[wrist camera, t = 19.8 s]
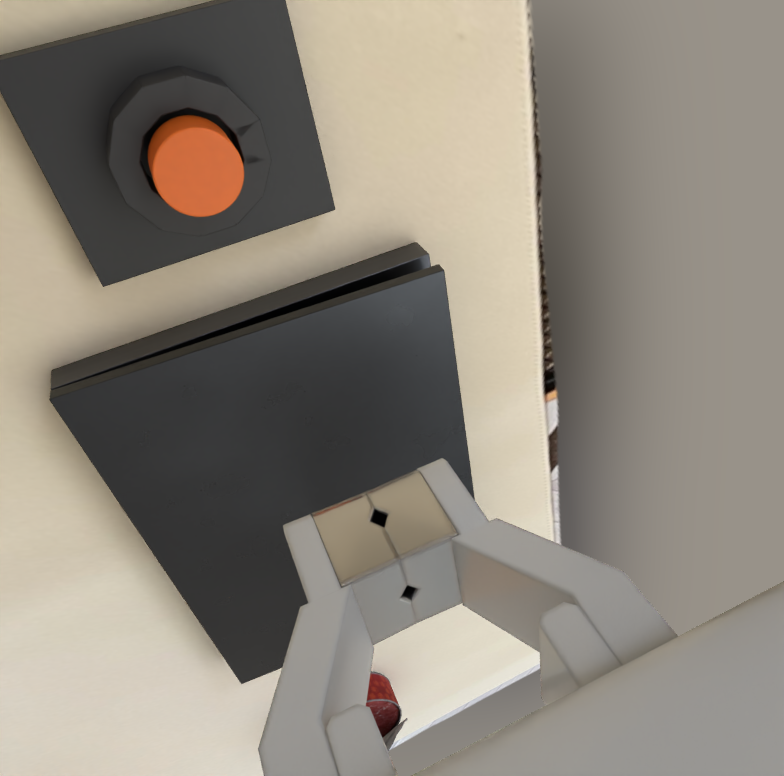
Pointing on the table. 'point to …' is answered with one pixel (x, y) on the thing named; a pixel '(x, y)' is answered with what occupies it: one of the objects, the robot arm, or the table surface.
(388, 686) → the canned food
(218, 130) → the power button
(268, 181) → the switch block
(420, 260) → the laptop
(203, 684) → the table surface
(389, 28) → the table surface
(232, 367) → the laptop screen
